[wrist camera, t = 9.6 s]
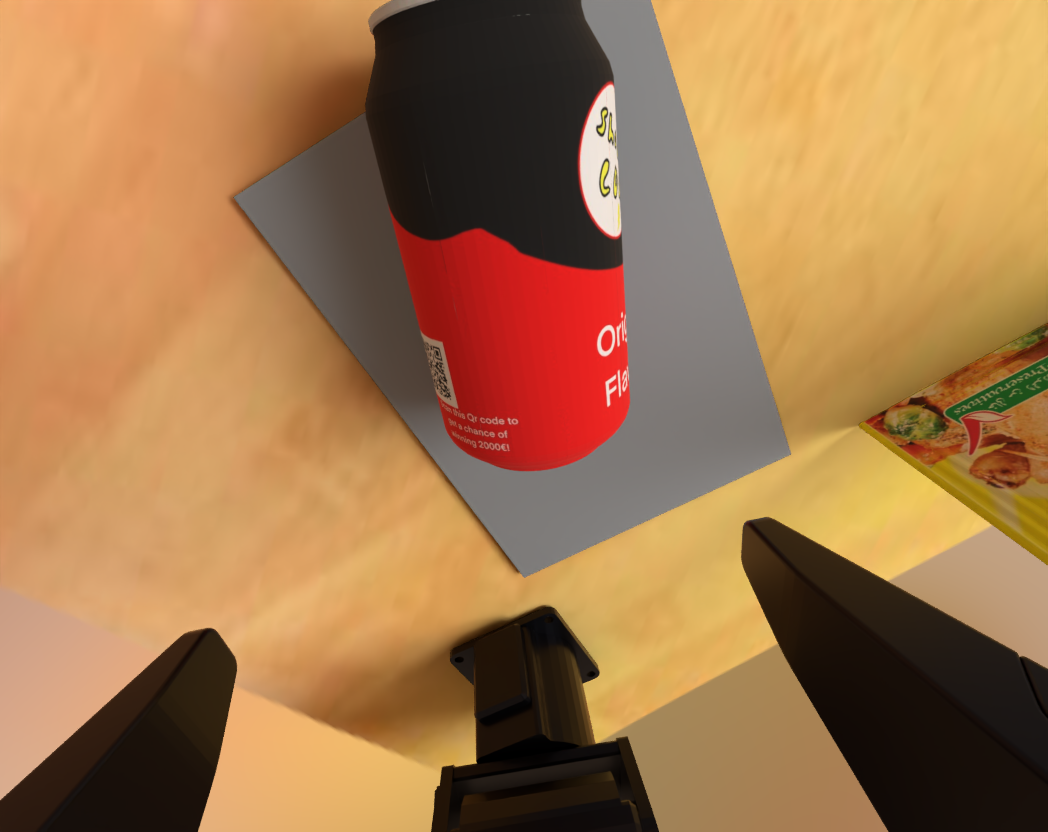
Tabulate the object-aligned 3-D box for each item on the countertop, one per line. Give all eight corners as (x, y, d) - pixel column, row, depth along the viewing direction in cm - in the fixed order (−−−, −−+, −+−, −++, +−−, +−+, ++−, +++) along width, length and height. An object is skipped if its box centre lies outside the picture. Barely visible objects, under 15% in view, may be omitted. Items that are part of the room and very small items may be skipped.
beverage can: (496, 516, 14) (374, -34, 9) (428, 428, 19) (323, 46, 14) (671, 437, 16) (668, -44, 11) (569, 377, 22) (529, 28, 16)
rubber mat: (786, 449, 24) (791, 454, 24) (523, 571, 26) (524, 577, 26) (628, -57, 15) (631, -61, 14) (238, 196, 17) (233, 197, 16)
